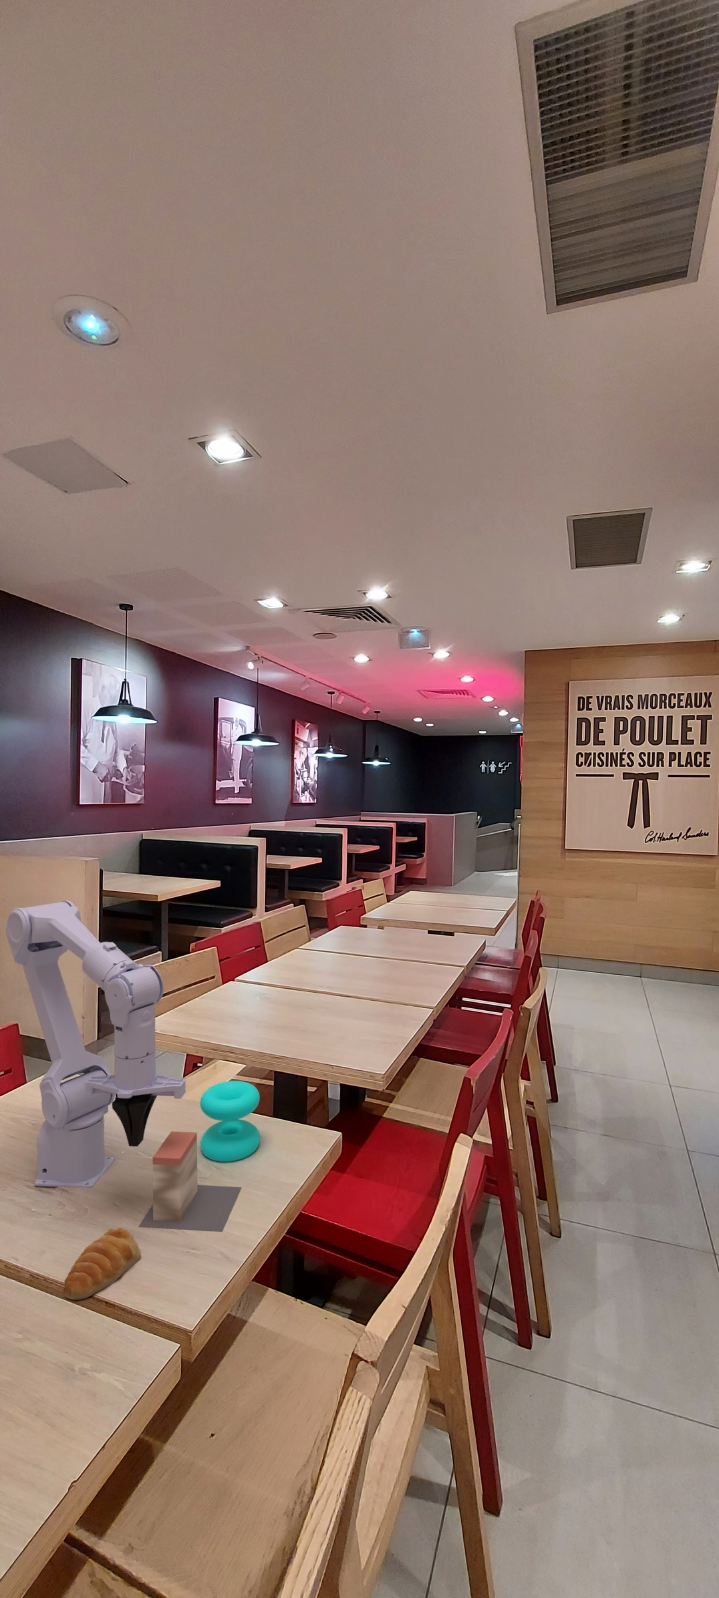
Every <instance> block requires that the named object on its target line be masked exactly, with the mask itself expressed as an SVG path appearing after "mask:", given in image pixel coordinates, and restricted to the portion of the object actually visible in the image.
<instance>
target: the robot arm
mask: <svg viewBox="0 0 719 1598" xmlns="http://www.w3.org/2000/svg"><path fill="white" fill-rule="evenodd" d="M81 919H82V918H81V911H80V909H79V907H77V906H76V905H75V904H74V903H73V902H72V901H70V900H68V899H66V900H62V901H59V902H54V903H46V904H39V905H35V906H27V907H15V908H14V909H12V911H11V912H10V913H9V915H8V917H7V920H6V921H7V922H6V926H5V927H6V928H5V934H6V938H7V941H8V945H9V948H10V951H11V954H12V956H13V960H14V963H16V964H19V965H21V966H22V969H23V971H24V976H25V979H26V983H27V985H28V989H29V991H30V995H31V998H32V1001H33V1002H32V1003H33V1005H34V1008H35V1011H36V1015H37V1017H38V1018H37V1019H38V1022H39V1024H40V1028H41V1031H42V1035H43V1039H44V1040H45V1044H46V1048H47V1051H48V1054H49V1057H50V1060H51V1066H50V1067H49V1068H48V1070H47V1071H46V1073H45V1074H44V1076H43V1078H42V1079H41V1081H40V1083H39V1090H40V1096H41V1111H42V1115H43V1117H44V1119H45V1120H44V1122H43V1123H42V1124H41V1126H40V1128H39V1131H38V1135H37V1140H36V1168H37V1169H36V1175H37V1176H36V1178H37V1179H36V1180H35V1181H34V1186H35V1187H36V1186H37V1187H50V1188H51V1187H53V1188H54V1187H56V1188H57V1187H67V1188H68V1187H69V1188H87V1189H89V1188H93V1187H94V1186H95V1185H96V1184H97V1182H99V1180H100V1178H101V1177H102V1176H103V1175H104V1174H105V1172H106V1171H107V1170H108V1169H109V1167H110V1166H112V1164H113V1163H114V1161H115V1160H116V1158H115V1157H114V1156H105V1115H106V1114H107V1113H109V1106H110V1105H111V1108H112V1110H113V1112H114V1113H115V1114H116V1116H117V1117H118V1119H119V1120H120V1123H121V1124H122V1127H123V1130H124V1133H125V1136H126V1139H127V1143H128V1146H129V1147H139V1146H140V1144H141V1143H142V1141H144V1136H145V1131H146V1127H147V1122H148V1119H149V1116H150V1113H151V1110H152V1108H153V1106H154V1103H155V1101H156V1099H157V1097H158V1096H159V1097H161V1096H162V1097H163V1096H164V1097H173V1099H176V1100H177V1099H182V1098H183V1097H184V1095H185V1094H186V1079H179V1078H174V1077H170V1076H165V1075H160V1074H157V1073H156V1071H157V1069H156V1066H157V1065H156V1064H157V1062H156V1057H157V1056H156V1003H159V1002H161V1000H162V998H163V996H164V980H163V978H162V975H161V973H160V972H159V970H158V969H157V968H156V966H154V965H153V964H145V965H143V964H142V963H139V964H138V963H136V962H135V961H134V960H132V959H131V958H130V957H129V956H128V955H126V954H125V952H123V951H122V950H121V949H119V947H118V946H117V944H115V943H114V942H113V941H112V942H111V941H110V942H109V941H103V942H100V941H99V940H98V939H97V938H96V936H94V934H92V932H91V931H90V930H89V928H88V927H87V926H86V925H84V924H83V923H82V920H81ZM68 950H69V951H70V952H71V953H72V954H74V955H75V956H77V957H78V958H79V959H80V960H82V964H81V967H82V972H83V973H85V975H86V976H88V977H89V978H90V980H92V982H94V983H95V984H96V985H97V986H98V987H100V989H101V990H102V991H103V992H104V997H105V1002H106V1005H107V1007H108V1010H109V1017H110V1018H109V1019H110V1021H111V1024H112V1025H113V1028H114V1037H113V1038H114V1045H113V1046H114V1074H112V1073H111V1071H109V1069H108V1067H107V1066H106V1063H105V1061H104V1058H103V1057H102V1056H100V1055H98V1054H95V1053H92V1052H90V1051H87V1050H86V1048H85V1044H84V1042H83V1038H82V1036H81V1031H80V1029H79V1026H78V1023H77V1020H76V1019H77V1018H76V1015H75V1012H74V1010H73V1006H72V1003H71V1000H70V998H69V994H68V991H67V987H66V985H65V982H64V979H63V975H62V973H61V969H60V966H59V958H60V957H61V956H62V955H64V954H65V953H67V951H68ZM79 1074H80V1075H79ZM76 1075H77V1076H76ZM73 1076H75V1077H73ZM71 1077H73V1078H71ZM69 1078H70V1079H69ZM66 1079H67V1080H66ZM63 1080H65V1081H63ZM62 1081H63V1082H62Z"/></svg>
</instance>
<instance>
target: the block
mask: <svg viewBox="0 0 719 1598" xmlns="http://www.w3.org/2000/svg"><path fill="white" fill-rule="evenodd" d="M197 1185H198V1132H193V1131H170V1132H169V1134H168V1136H167V1137H166V1138H165V1139H164V1141H163V1142H162V1143H161V1144H160V1146H159V1148H158V1149H157V1151H156V1152H155V1153H154V1155H153V1156H152V1205H153V1220H159V1221H177V1222H181V1220H182V1218H183V1216H184V1214H185V1213H186V1211H187V1209H188V1207H189V1205H190V1204H191V1202H192V1200H193V1198H194V1196H195V1194H196V1193H197Z"/></svg>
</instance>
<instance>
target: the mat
mask: <svg viewBox="0 0 719 1598" xmlns="http://www.w3.org/2000/svg"><path fill="white" fill-rule="evenodd" d="M242 1188H243V1187H242V1186H225V1185H205V1184H203V1185H202V1184H197V1193H196V1194H195V1196H194V1198H193V1200H192V1202H191V1204H190V1205H189V1207H188V1209H187V1211H186V1213H185V1214H184V1216H183V1218H182V1220H181V1222H177V1221H159V1220H153V1204H152V1205H151V1206H150V1208H149V1210H148V1211H147V1213H146V1214H145V1215H144V1217H143V1219H142V1221H141V1222H140V1224H139V1225H138V1228H147V1229H148V1228H150V1229H167V1230H180V1231H181V1230H182V1231H184V1230H185V1231H199V1232H200V1231H201V1232H216V1233H217V1232H218V1233H223V1231H224V1228H225V1227H226V1224H227V1223H228V1220H229V1217H230V1215H231V1214H232V1211H233V1208H234V1206H235V1204H236V1202H237V1199H238V1197H239V1195H240V1192H241V1190H242Z"/></svg>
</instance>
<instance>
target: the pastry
mask: <svg viewBox="0 0 719 1598" xmlns="http://www.w3.org/2000/svg"><path fill="white" fill-rule="evenodd" d="M141 1255H142V1250H141V1249H140V1247H139V1244H138V1242H137V1241H136V1240H135V1238H134V1235H133V1234H132V1233H131V1232H130V1231H129V1230H127V1229H125V1228H122V1227H117V1228H109V1229H108V1230H107V1231H106V1232H104V1233H103V1235H102V1236H100V1237H99V1238H97V1239H96V1240H94V1241H93V1242H92V1243H90V1244H89V1245H87V1246H85V1248H84V1250H83V1252H82V1253H81V1254H80V1255H79V1256H78V1258H77V1259H76V1260H75V1262H74V1264H73V1265H72V1267H71V1269H70V1271H69V1272H68V1274H67V1276H66V1277H65V1279H64V1283H63V1284H64V1293H63V1295H64V1297H65V1298H66V1299H69V1300H73V1301H79V1300H84V1299H87V1298H89V1297H91V1296H92V1295H94V1294H96V1293H97V1292H100V1291H101V1290H103V1289H106V1288H107V1287H109V1286H111V1285H112V1284H114V1283H115V1282H116V1281H117V1280H118V1279H119V1278H120V1277H121V1276H122V1275H124V1273H126V1272H128V1271H129V1270H130V1269H131V1268H132V1267H133V1265H134V1264H135V1263H137V1262H138V1261H139V1259H140V1258H141Z"/></svg>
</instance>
